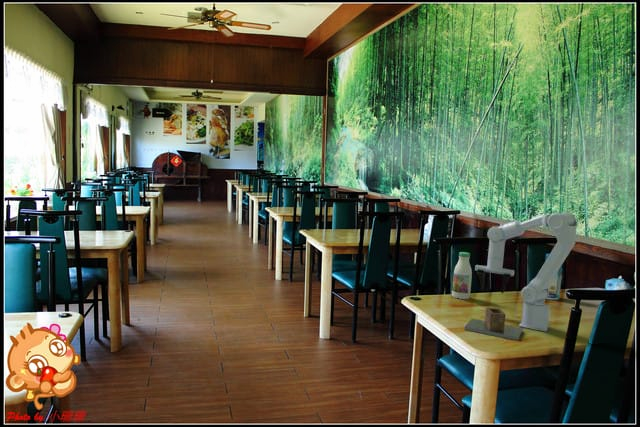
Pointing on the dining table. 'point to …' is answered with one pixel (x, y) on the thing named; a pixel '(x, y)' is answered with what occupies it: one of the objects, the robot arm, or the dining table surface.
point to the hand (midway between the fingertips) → (492, 291)
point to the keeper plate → (508, 332)
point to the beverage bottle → (555, 284)
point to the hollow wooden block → (495, 319)
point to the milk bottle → (462, 277)
